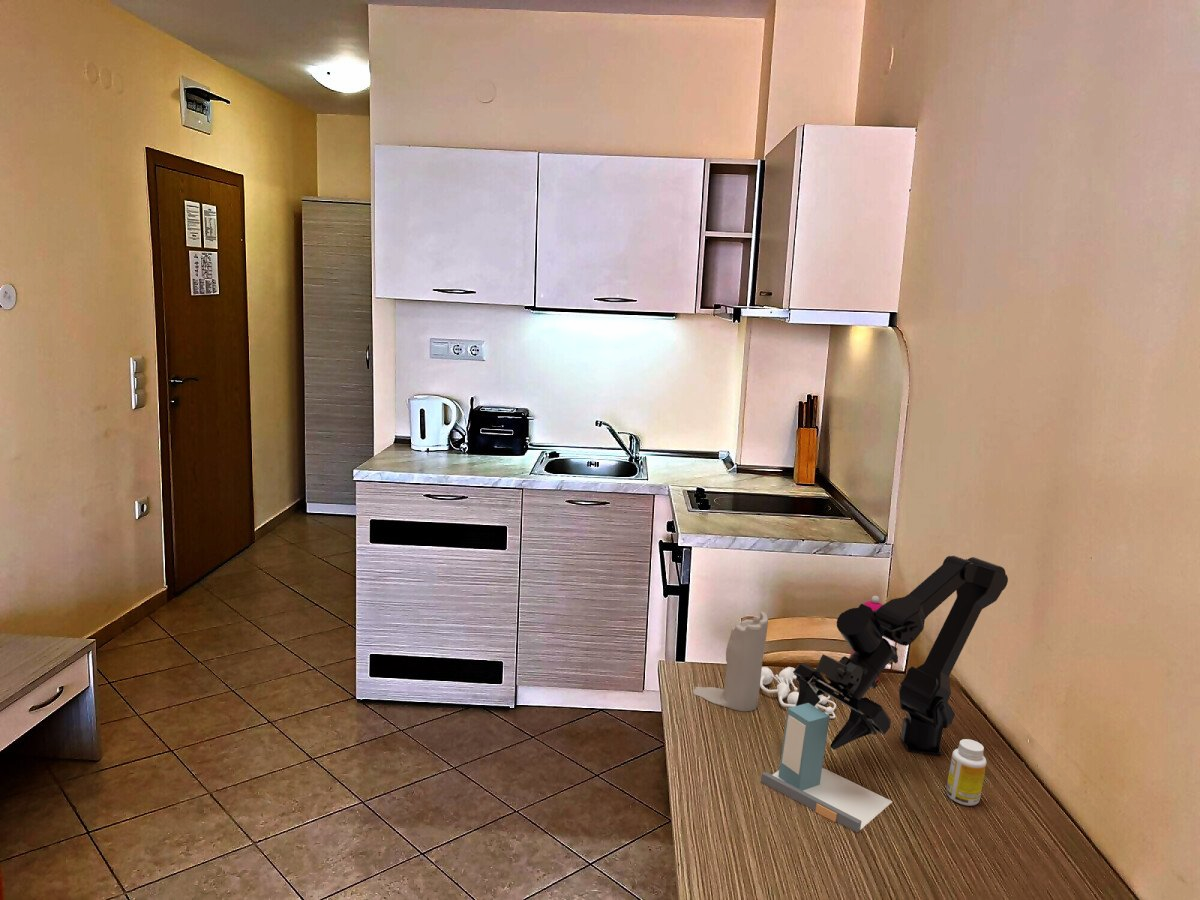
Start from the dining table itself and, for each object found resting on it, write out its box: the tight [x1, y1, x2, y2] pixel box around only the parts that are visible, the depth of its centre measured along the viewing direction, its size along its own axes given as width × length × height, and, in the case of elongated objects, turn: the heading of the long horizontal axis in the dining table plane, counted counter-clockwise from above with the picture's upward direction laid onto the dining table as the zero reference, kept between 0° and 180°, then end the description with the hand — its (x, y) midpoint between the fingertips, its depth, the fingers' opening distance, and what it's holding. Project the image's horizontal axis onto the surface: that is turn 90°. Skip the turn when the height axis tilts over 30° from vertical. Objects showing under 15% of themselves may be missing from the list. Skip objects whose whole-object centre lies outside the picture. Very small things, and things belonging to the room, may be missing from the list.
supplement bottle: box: [945, 738, 987, 807], centre depth 152 cm, size 6×6×10 cm
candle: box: [692, 611, 769, 712], centre depth 180 cm, size 7×14×20 cm, turn 65°
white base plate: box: [760, 767, 893, 833], centre depth 148 cm, size 13×18×3 cm
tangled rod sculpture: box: [760, 666, 837, 719], centre depth 184 cm, size 19×14×4 cm
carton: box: [778, 703, 831, 791], centre depth 150 cm, size 5×5×13 cm
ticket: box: [814, 803, 837, 823], centre depth 141 cm, size 1×4×2 cm, turn 46°
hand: (811, 735), depth 150 cm, fingers open, 9 cm apart
